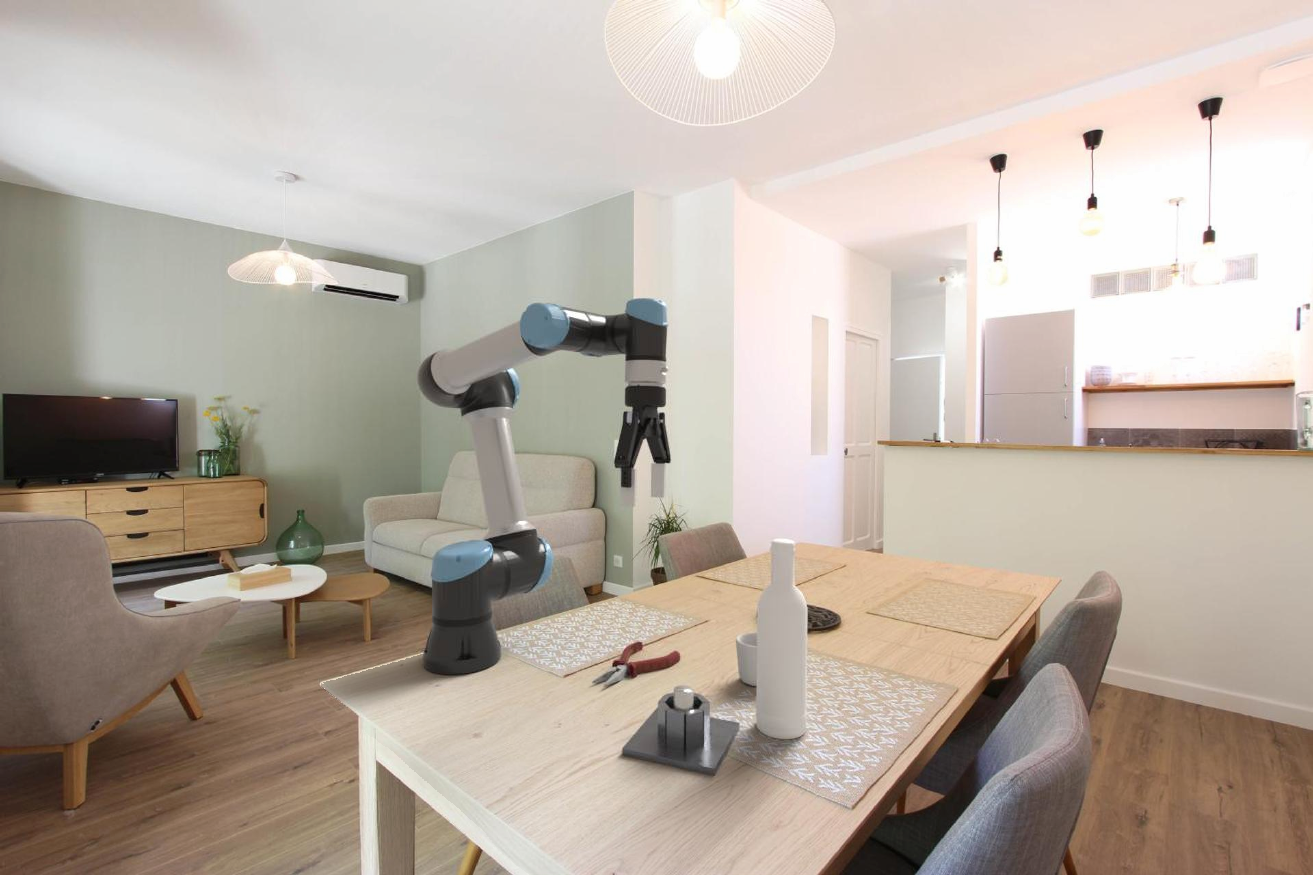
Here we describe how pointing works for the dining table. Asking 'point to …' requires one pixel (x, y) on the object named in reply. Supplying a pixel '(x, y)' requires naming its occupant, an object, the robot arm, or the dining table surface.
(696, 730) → the ring
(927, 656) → the dining table surface
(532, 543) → the robot arm
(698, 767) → the piston jig
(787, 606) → the bottle
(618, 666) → the pliers
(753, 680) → the cup
